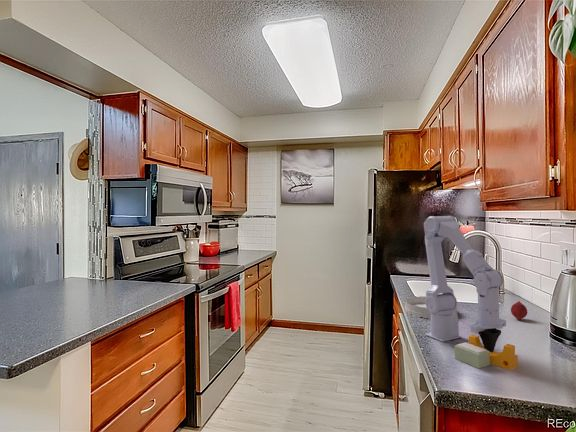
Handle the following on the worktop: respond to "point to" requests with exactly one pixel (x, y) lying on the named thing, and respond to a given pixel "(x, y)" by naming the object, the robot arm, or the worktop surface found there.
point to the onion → (518, 310)
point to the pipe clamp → (499, 354)
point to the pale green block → (472, 355)
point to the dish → (419, 307)
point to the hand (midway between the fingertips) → (489, 352)
